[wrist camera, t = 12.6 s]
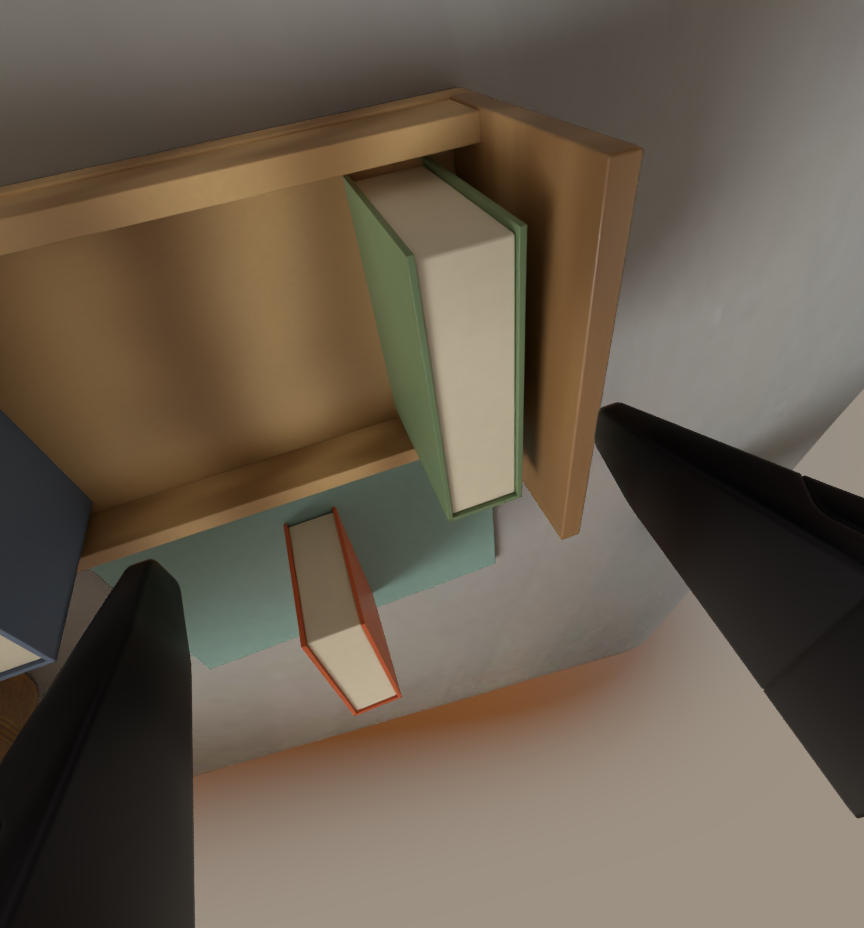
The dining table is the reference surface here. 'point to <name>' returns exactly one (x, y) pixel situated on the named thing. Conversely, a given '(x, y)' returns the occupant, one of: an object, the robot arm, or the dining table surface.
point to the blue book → (35, 551)
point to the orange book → (339, 614)
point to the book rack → (287, 312)
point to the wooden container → (15, 708)
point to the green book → (449, 326)
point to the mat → (267, 566)
